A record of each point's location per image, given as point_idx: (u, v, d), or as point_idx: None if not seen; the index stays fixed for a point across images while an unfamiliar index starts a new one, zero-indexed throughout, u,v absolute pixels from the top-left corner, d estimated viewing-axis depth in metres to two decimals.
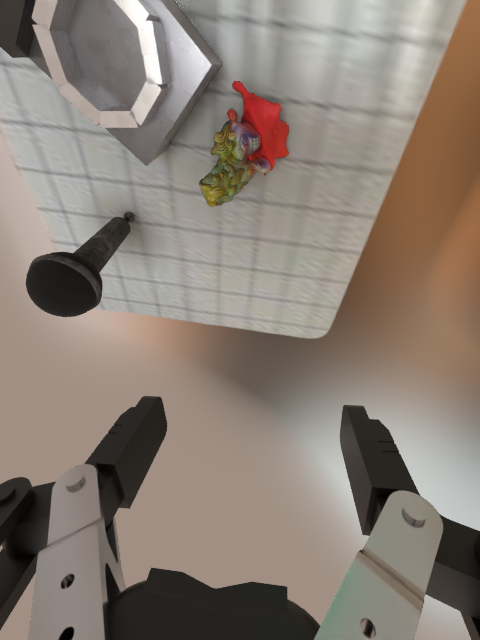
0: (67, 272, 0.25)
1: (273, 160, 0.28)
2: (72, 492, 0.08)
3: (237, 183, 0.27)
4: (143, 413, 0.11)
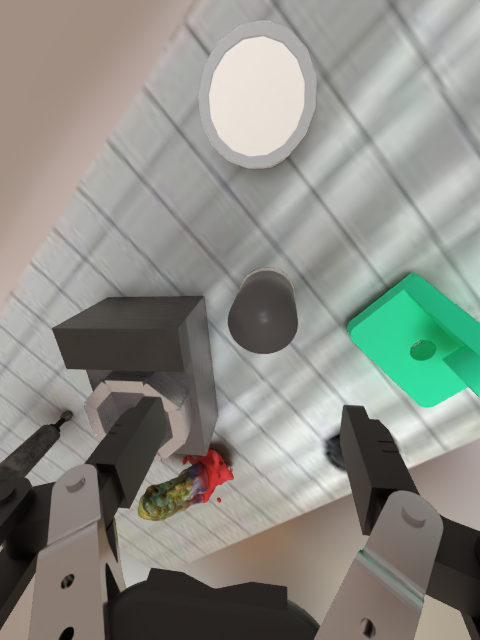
0: None
1: (207, 500, 0.34)
2: (72, 492, 0.08)
3: (170, 515, 0.31)
4: (143, 413, 0.11)
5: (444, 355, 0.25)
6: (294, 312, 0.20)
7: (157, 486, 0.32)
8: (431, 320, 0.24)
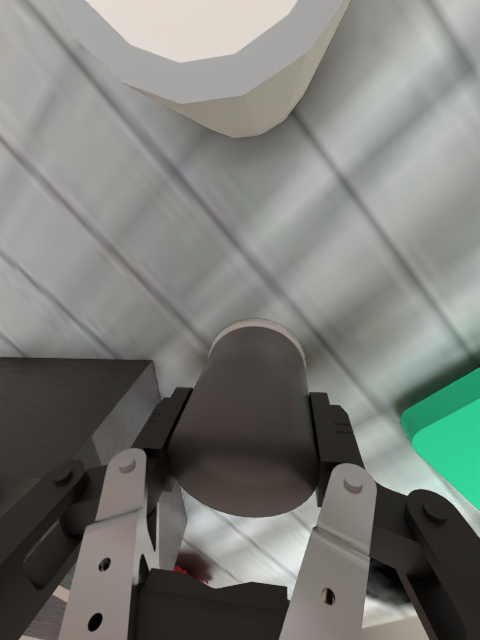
0: None
1: None
2: (126, 473, 0.08)
3: None
4: (180, 402, 0.11)
5: None
6: (312, 454, 0.09)
7: None
8: None
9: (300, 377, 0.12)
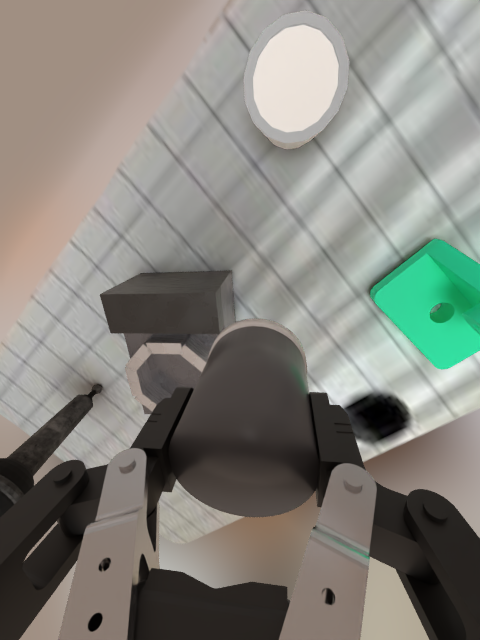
0: (5, 510, 0.24)
1: None
2: (126, 473, 0.08)
3: None
4: (180, 402, 0.11)
5: (461, 317, 0.27)
6: (313, 454, 0.09)
7: None
8: (451, 283, 0.26)
9: (301, 377, 0.12)
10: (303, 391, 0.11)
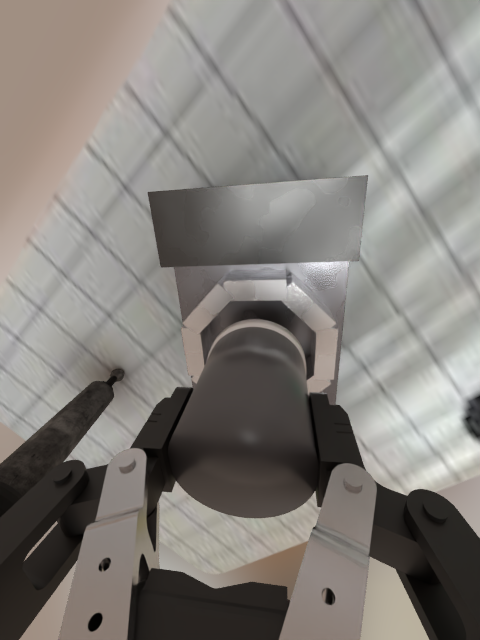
0: None
1: None
2: (126, 473, 0.08)
3: None
4: (180, 402, 0.11)
5: None
6: (312, 455, 0.09)
7: None
8: None
9: (300, 378, 0.12)
10: (302, 392, 0.11)
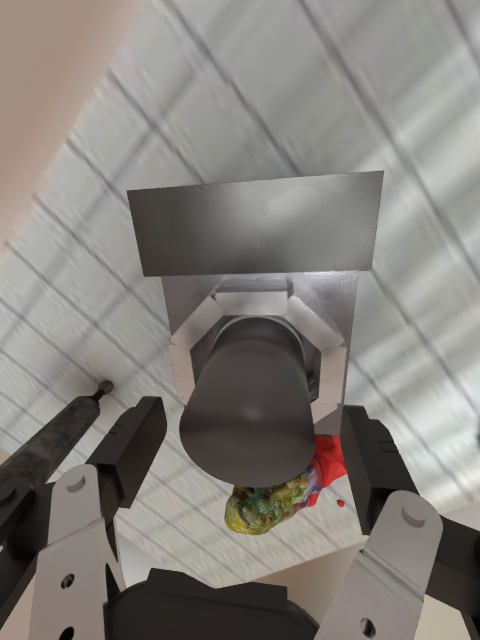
0: None
1: (314, 503, 0.24)
2: (72, 492, 0.08)
3: (273, 526, 0.21)
4: (143, 413, 0.11)
5: None
6: (309, 426, 0.10)
7: None
8: None
9: (299, 362, 0.13)
10: (301, 374, 0.12)
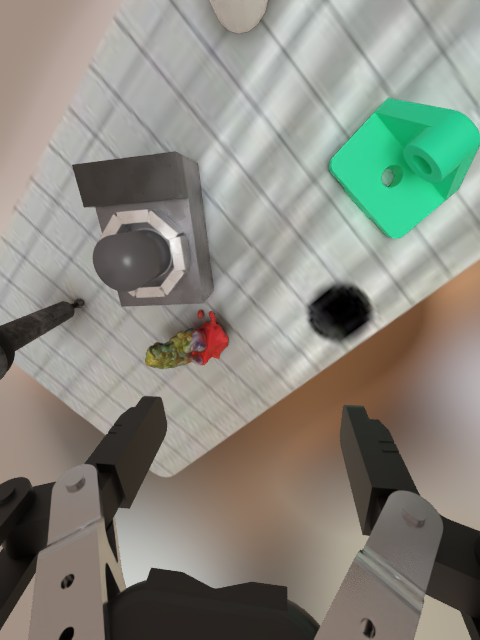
0: None
1: (206, 362, 0.38)
2: (72, 492, 0.08)
3: (173, 364, 0.36)
4: (143, 413, 0.11)
5: (410, 180, 0.29)
6: (141, 253, 0.25)
7: (161, 343, 0.37)
8: (398, 143, 0.28)
9: (154, 242, 0.28)
10: (151, 243, 0.27)
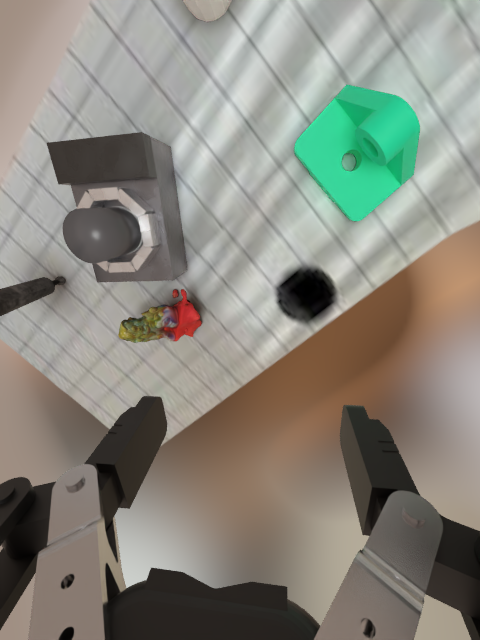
0: None
1: (178, 338, 0.41)
2: (72, 492, 0.08)
3: (145, 338, 0.38)
4: (143, 413, 0.11)
5: (368, 165, 0.31)
6: (107, 226, 0.27)
7: (135, 318, 0.39)
8: None
9: (123, 218, 0.30)
10: (119, 219, 0.29)
